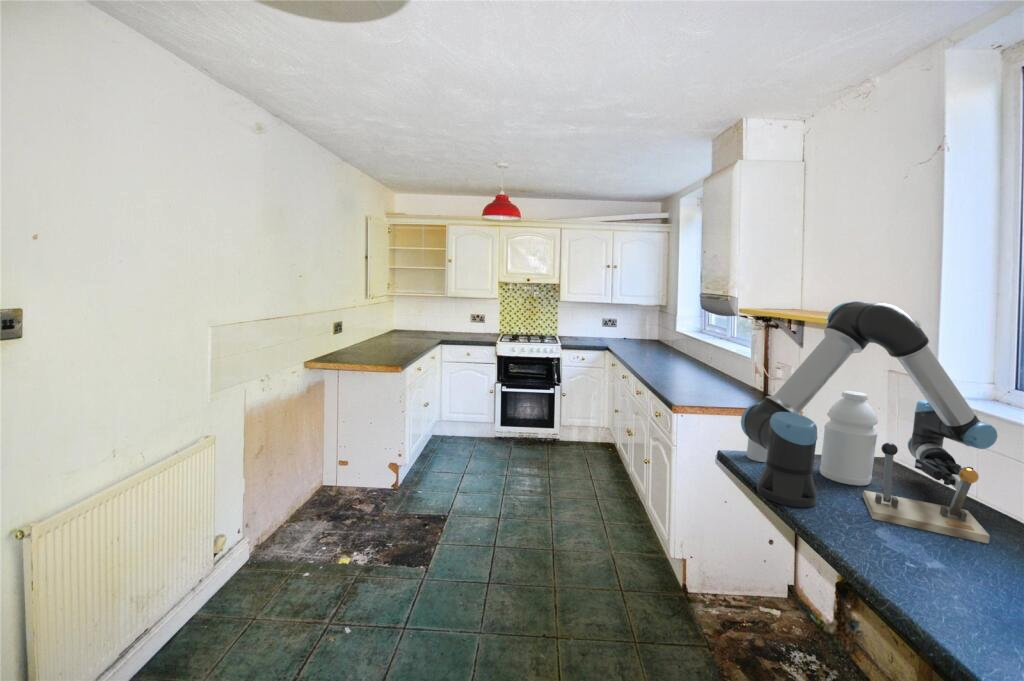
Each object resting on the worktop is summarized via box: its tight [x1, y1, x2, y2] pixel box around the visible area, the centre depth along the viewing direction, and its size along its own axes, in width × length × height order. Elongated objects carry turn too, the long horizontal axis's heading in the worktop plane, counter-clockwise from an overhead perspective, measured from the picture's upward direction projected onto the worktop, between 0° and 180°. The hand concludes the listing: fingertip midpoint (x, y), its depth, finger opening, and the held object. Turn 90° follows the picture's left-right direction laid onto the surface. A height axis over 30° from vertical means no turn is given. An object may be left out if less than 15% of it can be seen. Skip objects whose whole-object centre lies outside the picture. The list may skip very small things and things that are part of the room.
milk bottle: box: [746, 401, 768, 463], centre depth 170 cm, size 8×8×20 cm
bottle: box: [819, 390, 879, 486], centre depth 155 cm, size 14×14×28 cm
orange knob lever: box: [948, 467, 980, 516], centre depth 123 cm, size 4×4×16 cm
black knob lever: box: [880, 442, 899, 503], centre depth 135 cm, size 4×4×16 cm
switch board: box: [862, 489, 991, 544], centre depth 130 cm, size 23×16×4 cm
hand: (963, 488), depth 124 cm, fingers closed
